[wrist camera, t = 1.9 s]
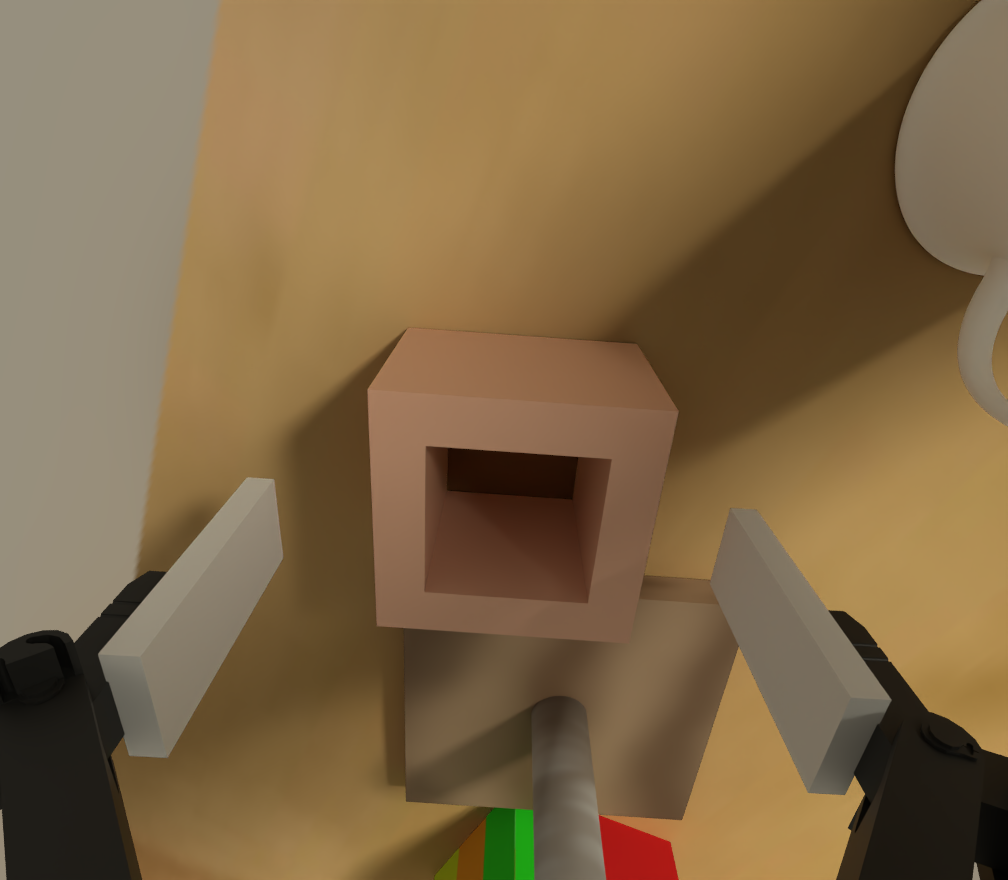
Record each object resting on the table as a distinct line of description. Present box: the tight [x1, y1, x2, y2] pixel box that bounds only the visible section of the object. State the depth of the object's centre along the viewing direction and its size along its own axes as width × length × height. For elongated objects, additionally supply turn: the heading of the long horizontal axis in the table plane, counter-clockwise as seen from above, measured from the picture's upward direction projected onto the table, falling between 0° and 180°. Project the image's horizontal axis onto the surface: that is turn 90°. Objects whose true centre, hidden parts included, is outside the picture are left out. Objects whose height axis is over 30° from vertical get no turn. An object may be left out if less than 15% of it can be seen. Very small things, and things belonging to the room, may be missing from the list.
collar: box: [367, 328, 679, 644], centre depth 19 cm, size 8×8×6 cm
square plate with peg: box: [404, 576, 739, 880], centre depth 24 cm, size 14×14×8 cm
